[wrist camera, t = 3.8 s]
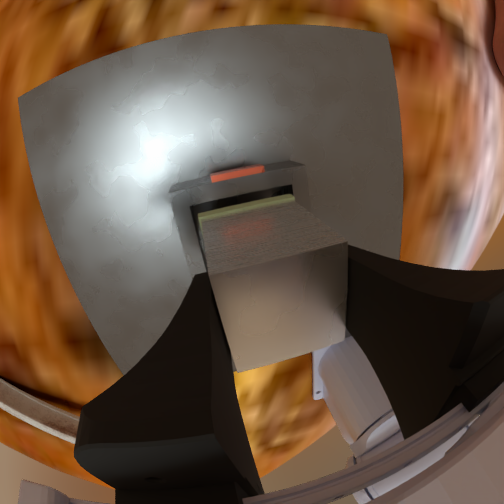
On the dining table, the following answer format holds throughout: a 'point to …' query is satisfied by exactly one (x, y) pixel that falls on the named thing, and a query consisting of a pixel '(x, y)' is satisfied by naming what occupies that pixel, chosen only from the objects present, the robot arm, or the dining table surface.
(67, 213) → the stand
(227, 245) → the grey block
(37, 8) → the dining table surface
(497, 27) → the brown rounded block
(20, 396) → the wrench
